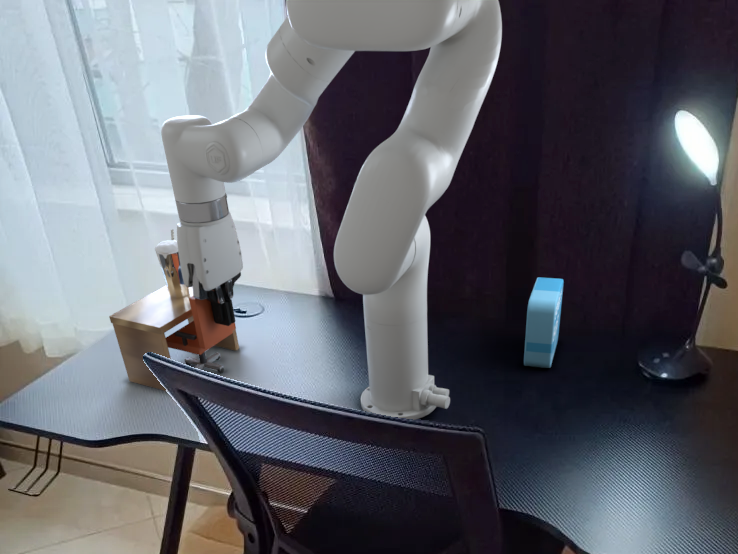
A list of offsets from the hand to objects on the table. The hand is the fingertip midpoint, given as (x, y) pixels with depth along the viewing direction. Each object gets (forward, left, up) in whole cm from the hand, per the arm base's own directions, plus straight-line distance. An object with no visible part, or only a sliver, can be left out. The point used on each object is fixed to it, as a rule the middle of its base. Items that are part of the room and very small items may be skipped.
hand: (225, 322), depth 130 cm
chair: (+7, 0, -10) cm, 12 cm away
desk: (+11, 0, -10) cm, 15 cm away
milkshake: (+12, -3, +2) cm, 12 cm away
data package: (-45, -29, -10) cm, 55 cm away
